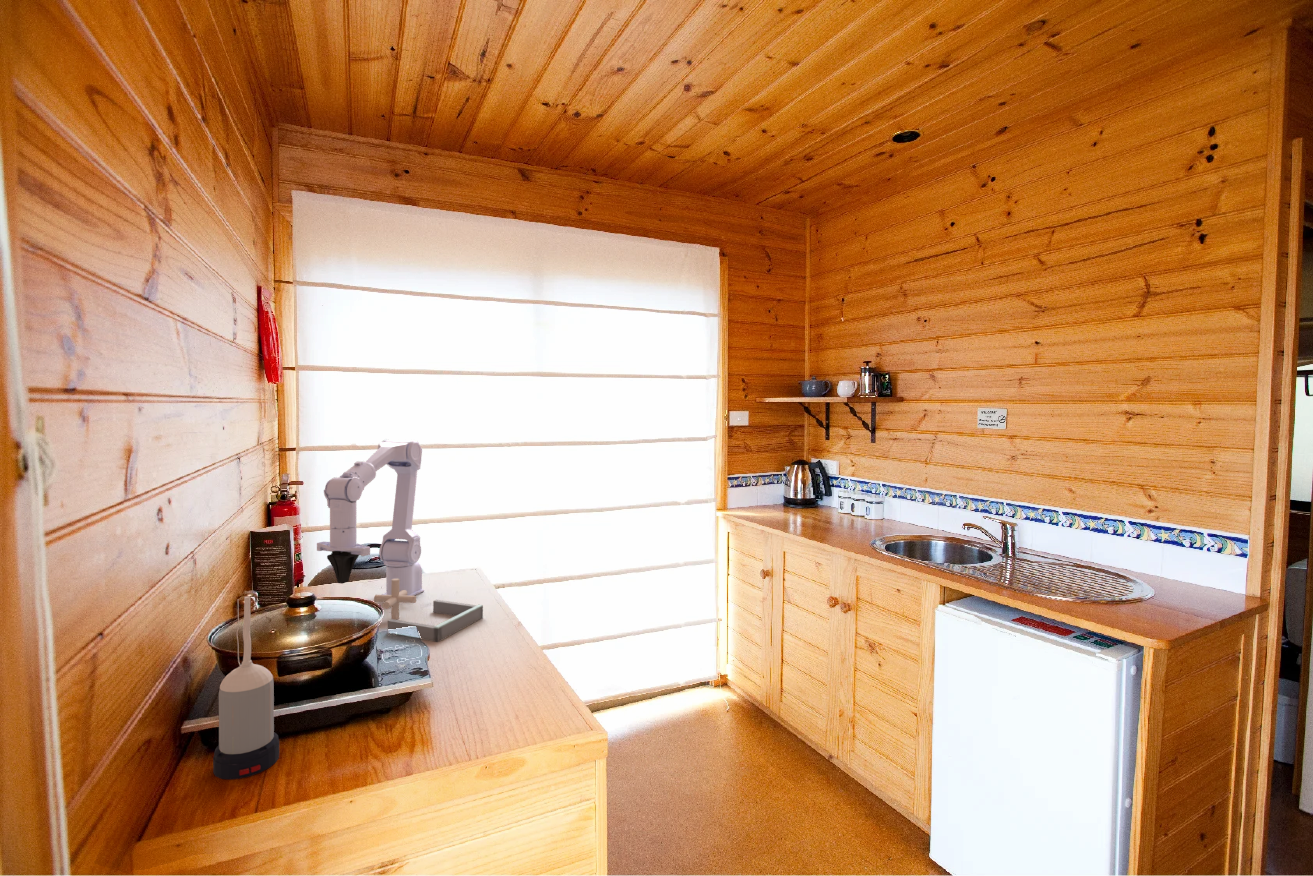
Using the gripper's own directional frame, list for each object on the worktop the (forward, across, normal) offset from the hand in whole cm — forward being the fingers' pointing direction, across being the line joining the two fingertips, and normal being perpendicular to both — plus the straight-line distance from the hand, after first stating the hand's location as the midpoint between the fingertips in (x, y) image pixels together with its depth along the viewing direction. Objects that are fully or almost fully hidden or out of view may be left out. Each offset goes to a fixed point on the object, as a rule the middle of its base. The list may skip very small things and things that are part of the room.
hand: (343, 582), depth 147 cm
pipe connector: (+11, +8, +8) cm, 16 cm away
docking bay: (+10, +20, +8) cm, 24 cm away
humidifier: (+11, +33, -50) cm, 61 cm away
